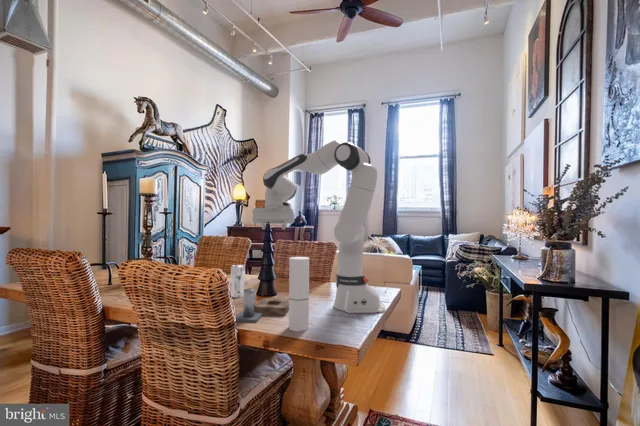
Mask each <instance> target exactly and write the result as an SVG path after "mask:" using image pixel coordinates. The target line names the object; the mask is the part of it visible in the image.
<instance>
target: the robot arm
mask: <svg viewBox="0 0 640 426" xmlns="http://www.w3.org/2000/svg"><path fill="white" fill-rule="evenodd" d="M371 161H372V160H371V157H370V156H369V154H368V153H367V152H366V151H364V149H362V148H361V147H359V146H358V145H355V144H354V143H352V142H342V141H341V142H340V141H339V140H336V139H335V140H332V141H330V142H328V143H326V144H324V145H322V146H321V147H320V148H318V149H317V150H316V151H313V152H310V153H307V154H306V153H301V154H298V155H296V156H295V157H292V158H291V159H288V160H286V161H285V162H283V163H281V164H280V165H278V166H275V167H272V168H270V169H268V170H266V172H264V174H263V175H262V181H263V186H265V187H266V189H265V193H264V199H265V201H264V207H255V208H253V209H252V211H251V213H252V223H254V224H259V225H260V226H261V229H262V230H266V224H282V225H281V229H282V230H286V227H287V226H288V224H294V223H295V219H296V218H295V217H296V216H295V213H294V209H293V208H292V204H291V203H289V202H288V201H290V200H291V199H293V198H294V197H295V196H296V193H297V190H298V188H297V184H296V183H295V182H294V181H292V180H291V179H290V178H288V176H287V174H290V173H291V172H293V171H295V170H300V171H304V172H308V173H310V174H313V175H316V176H317V175H318V176H320V175H321V176H322V175H324V174H326V173H328V172H329V171H330V170H332V169H333V168H335V167H336V166H338V165H339V166H340V167H342V168H344V169H345V170H347V171H350V172H351V175H352V176H351V180H350V184H349V187H348V191H347V195H346V198H345V201H344V205H343V207H342V209H341V211H340V213H339V216H338V219H337V222H336V224H335V226H334V229H333V235H334V238H335V239H336V241H337V242H338V243H339V248H338V254H337V267H336V268H337V269H336V270H337V273H336V276H335V286H336V291H335V297H334V302H333V308H335V309H337V310H339V311H343V312H345V313H348V314H362V313H363V314H366V313H367V314H370V313H371V314H372V313H373V314H374V313H377V312H378V313H383V312H385V311H386V307H385V304H384V303H383V302H382V301H381V300H380V299H381V298H380V295H379V293H378V292H377V291H376V290H375V288H372V286H370V285H369V284H368V282H369V278H368V277H367V276H366V275H365V274H363V257H364V256H363V255H364V248H365V233H366V228H365V224H364V223H365V221H366V218H367V216H368V213H369V211H370V209H371V206H372V202H373V197H374V194H375V191H376V186H377V181H378V170H377V168H376V167H375V166H374V165H372V164H371V163H372V162H371ZM266 222H267V223H266ZM268 222H270V223H268Z"/></svg>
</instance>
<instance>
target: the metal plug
mask: <svg viewBox="0 0 640 426" xmlns="http://www.w3.org/2000/svg"><path fill="white" fill-rule="evenodd" d="M243 291H244V297H243V306H242V307H243V310H242V312H243V316H244V317H253V316H255V305H256V289H255V288H243Z"/></svg>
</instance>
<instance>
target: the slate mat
mask: <svg viewBox="0 0 640 426" xmlns="http://www.w3.org/2000/svg"><path fill="white" fill-rule="evenodd" d="M263 316H264V315H263V312H255V316H253V317H244V316H243V311H240V312H239V313H238V314H237V315H236V316H235V317H236V321H237V322H239V323H254V324H255V323H258V322H259V320H260V319H261V318H262V317H263ZM237 322H236V323H237Z"/></svg>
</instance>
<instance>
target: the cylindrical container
mask: <svg viewBox="0 0 640 426" xmlns="http://www.w3.org/2000/svg"><path fill="white" fill-rule="evenodd" d="M288 269H289V270H288V275H289V277H288V299H289V311H288V329H289V330H290V331H293V332H305V331H307V330H309V328H310V327H309V324H310V323H309V322H310V321H309V319H310V318H309V316H310V315H309V313H310V312H309V310H310V307H309V306H310V305H309V304H310V257H307V256H290V257H289V265H288Z"/></svg>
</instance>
